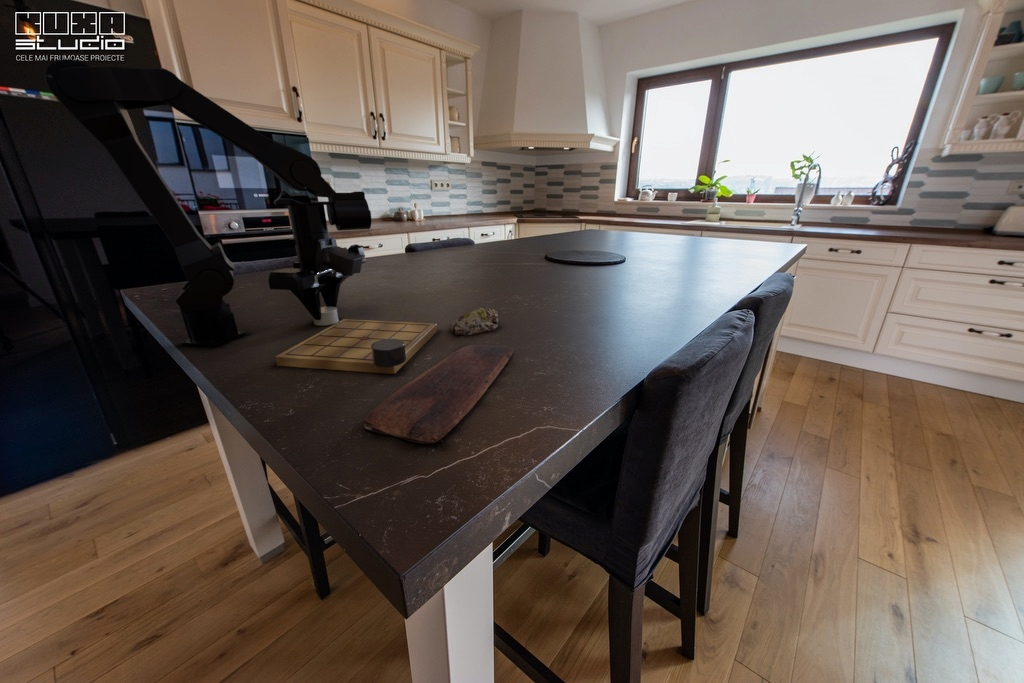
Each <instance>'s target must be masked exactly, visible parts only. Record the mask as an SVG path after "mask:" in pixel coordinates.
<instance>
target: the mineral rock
mask: <svg viewBox="0 0 1024 683" xmlns="http://www.w3.org/2000/svg"><path fill="white" fill-rule="evenodd" d="M499 323H500V322H499V315H498V311H497V310H496V309H493V308H491V309H490V308H489V307H484V308H483V307H478V308H476V309H474V310H473V311H467V312H465V313H463V315H461V316H459V317H458V318H457V319H455V321H453V322H452V324H451V325H450V328H451V332H452V333H453V334H455V336H472V335H478V334H480V333H485V332H492V331H495V330H496V328H498V325H499Z"/></svg>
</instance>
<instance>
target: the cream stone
mask: <svg viewBox="0 0 1024 683" xmlns="http://www.w3.org/2000/svg"><path fill="white" fill-rule="evenodd" d="M339 319H340V318H339V313H338V308H337V306H336V307H326V306H321V319H320V320H315V319H314V318H313V317H312V321H313V324H314V325H315V326H332V325H334V324H336V323H338V322H339V321H340V320H339Z"/></svg>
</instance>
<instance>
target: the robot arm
mask: <svg viewBox="0 0 1024 683" xmlns="http://www.w3.org/2000/svg"><path fill="white" fill-rule="evenodd" d="M44 82H45V84H46V86H47V88H48V90H49V91H50V93H51V94H52V95H53V96H54V98H55V99H57V100H58V102H59V103H60V104H61V105H62V106H63V107H64V108H65V109H66V111H68V112H69V114H71V116H72V117H74V119H75V120H76V121H77V122H78V123H79V124H81V125H82V127H84V129H85V130H86V131H88V133H89V134H91V135H92V137H93V138H94V139H96V140H97V141H98V143H100V144H101V146H102V147H104V149H105V150H106V151H107V153H108V155H109V156H110V158H111V159H112V160H113V161H114V163H115V164H116V166H117V167H118V169H119V171H121V173H122V174H123V176H124V177H125V179H126V181H127V182H128V183H129V185H130V186H131V187H132V189H133V190H134V191H135V193H136V195H137V196H138V198H140V200H141V202H142V203H143V205H144V206H145V207H146V209H147V210H148V211H149V213H150V215H151V216H152V218H153V219H154V220H155V222H156V223H157V225H158V226H159V227H160V229H161V230H162V232H163V233H164V235H165V236H166V237H167V239H168V240H169V242H170V243H171V245H172V247H173V249H174V252H175V255H176V257H177V259H178V262H179V265H180V268H181V270H182V272H183V275H184V276H185V279H186V281H187V282H186V284H185V285H184V286H183V287H182V288H181V289H180V291H179V293H178V296H177V298H176V299H175V303H176V304H177V305H178V307H179V310H180V314H181V317H182V320H183V322H184V327H185V329H186V332H187V336H188V338H187V339H184V340H182V341H180V344H181V346H191V347H192V346H193V347H209V348H216V347H218V346H221V345H223V344H225V343H228V342H230V341H233V340H234V339H237V338H239V337H241V336H245V335H246V333H245V331H244V330H238V327H237V324H236V323H237V322H236V320H235V315H234V313H233V311H232V309H231V306H230V302H226V301H225V300H223V298H224V296H226V295H228V294H229V293H230V292H231V291H232V289H233V287H234V284H235V278H234V271H235V264H234V262H233V261H231V260H230V259H229V258H228V257H227V255H226V253H225V250H224V248H223V246H222V243H221V242H217V243H215V244H213V245H212V244H210V243H209V242H208V241H207V240H206V239H205V238H204V237H203V236H202V234H200V232H199V231H198V229H197V228H196V226H195V225H194V223H193V221H192V220H191V218H190V217H189V215H188V214H187V212H186V211H185V210H184V208H183V206H182V205H181V203H180V202H179V200H178V199H177V197H176V196H175V194H174V193H173V191H172V189H171V188H170V187H169V184H167V182H166V181H165V179H164V178H163V176H162V174H161V172H160V171H159V170H158V168H157V166H156V165H155V163H154V161H152V159H151V157H150V156H149V155H148V153H147V151H146V150H145V148H144V147H143V146H142V144H141V142H140V140H139V137H138V135H137V133H136V130H135V127H134V124H133V122H132V119H131V117H130V114H129V112H128V111H133V110H141V109H146V108H154V107H162V106H169V107H171V108H173V109H174V110H176V111H177V112H179V113H181V114H183V115H184V116H186V117H187V118H189V119H190V120H192V121H194V122H196V124H199V125H200V126H202V127H204V128H205V129H207V130H208V131H210V132H211V133H213V134H214V135H216V136H218V137H220V138H221V139H222V140H224V141H226V142H228V143H229V144H231V145H232V146H234V147H236V148H237V149H239V150H241V151H242V152H244V153H245V154H247V155H249V156H250V157H252V158H253V159H255V160H256V162H258V163H259V164H261V166H263V167H264V168H265V169H266V170H267V171H269V172H270V174H272V175H273V176H275V177H276V178H277V179H278V180H279V181H281V182H282V184H284V185H285V186H286V187H288V188H289V189H292V190H293V191H296V192H308V193H309V194H311V195H313V196H314V197H317V198H327V201H325V200H324V201H323V200H322V201H321V200H320V201H312V200H311V198H310V196H309V195H308V194H293V195H292V194H289V193H288V192H287V191H286V190H281V191H280V194H279V195H278V196H277V198H276V199H275V200H273V204H274V205H275V206H278V207H280V206H281V207H282V206H283V207H284V206H287V210H288V215H289V216H288V217H289V220H290V227H291V230H292V232H291V233H292V236H293V238H288V245H289V246H294V247H295V248H294V249H295V252H296V258H297V261H295V262H292V267H293V268H288V267H285V268H281V269H277V270H273V271H271V272H270V273H269V275H267V282H268V286H269V290H278V291H279V290H283V291H290V292H291V293H292V294H293V295H294V296H295V297H296V298H297V299H298V300H299V302H300V303H301V304H302V305H303V306H304V307H305V309H306V310H307V311H308V313H309V315H311V317H312V319H313V318H314V319H315V320H320V319H321V307H322V304H321V297H322V299H323V302H324V304H325V307H336V308H337V305H338V299H339V293H340V289H341V286H342V284H343V283H344V282H345V280H347V279H348V278H349V277H352V276H354V275H355V274H360V273H361V270H362V266H363V264H365V263H367V259H366V254H365V251H364V247H363V245H359V244H357V243H355V244H352V245H350V246H349V247H346V246H345V247H341V246H338V244H337V240H336V238H335V236H330V235H329V234H330V233H329V228H328V223H329V225H330V226H335V228H336V230H337V231H338V232H339V231H357V230H358V231H359V230H361V231H362V230H370V229H371V227H372V211H371V209H370V207H369V204H368V200H367V199H366V194H365V192H364V191H351V192H336V191H335V189H333V187H332V186H331V185H330V184H329V183H328V182H327V181H326V180H325V178H324V177H323V176H322V171H321V168H320V165H319V163H318V162H317V161H316V160H315V159H314V158H313V157H311V156H309V155H308V154H306V153H303V152H302V151H299V150H297V149H295V148H293V147H291V146H289V145H286V144H285V143H282V142H279V141H277V140H274V139H272V138H270V137H268V136H266V135H264V134H262V132H259V131H258V130H256V129H255V128H253V126H251V125H249V124H248V123H246V122H245V121H243V120H242V119H240V118H238V117H237V116H236V115H234V114H233V113H231V112H230V111H228V110H227V109H225V108H223V106H221V105H219V104H218V103H216V102H214V101H213V100H211V99H210V98H208V97H207V96H205V95H204V94H202V93H201V92H199V91H197V90H196V89H194V88H193V87H191V86H190V85H189V84H187V83H186V82H184V81H183V80H181V79H180V78H179V77H178V76H177V75H176V74H175V73H173V72H172V71H170V70H168V69H166V68H163V67H159V66H158V67H151V68H137V67H136V68H135V67H125V66H124V67H123V66H122V67H121V66H108V65H105V66H91V65H88V64H87V63H85V62H83V61H79V60H76V59H70V58H69V59H67V58H65V59H58V60H55V61H53V62H51V63H50V64H49V65H48V66H47V68H46V71H45V74H44ZM325 206H326V210H325ZM326 214H327V217H326ZM327 219H328V222H327ZM320 294H321V296H320Z"/></svg>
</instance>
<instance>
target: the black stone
mask: <svg viewBox="0 0 1024 683" xmlns="http://www.w3.org/2000/svg"><path fill="white" fill-rule="evenodd" d="M371 350H372V357H373V363H374V364H375V365H376V366H379V367H392V366H397V365H400V364H402V363H404V362H405V360H406V353H405V343H404V341H402V340H400V339H383V340H379V341H376V342H374V343H373V344H372V345H371Z"/></svg>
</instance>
